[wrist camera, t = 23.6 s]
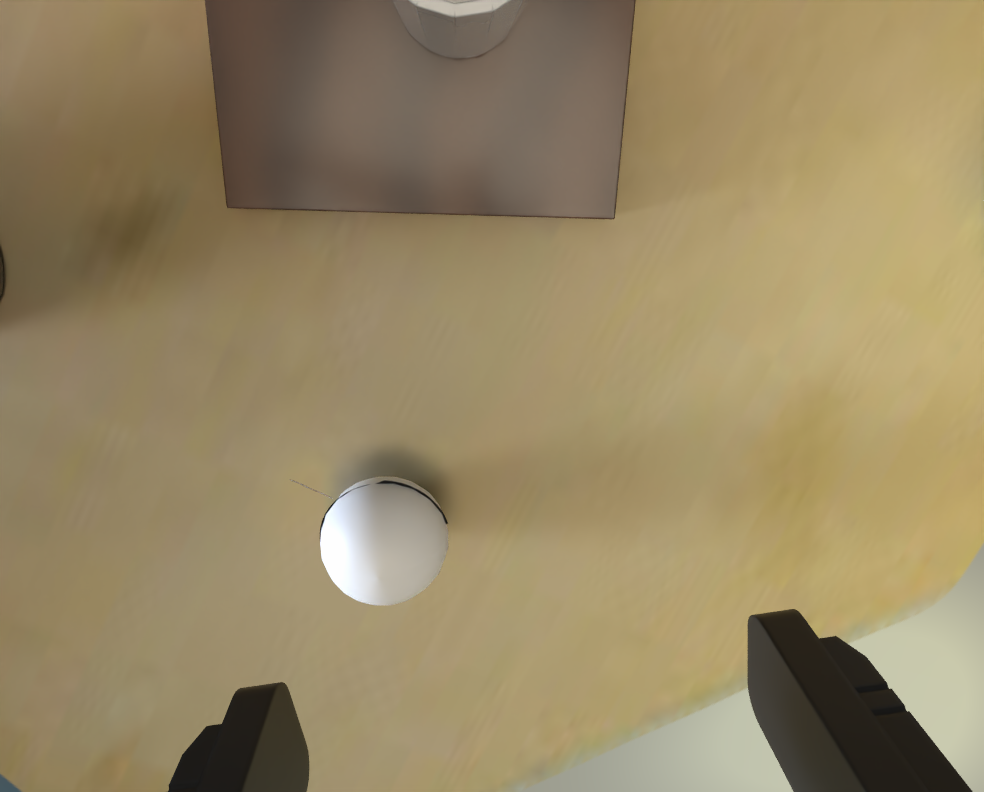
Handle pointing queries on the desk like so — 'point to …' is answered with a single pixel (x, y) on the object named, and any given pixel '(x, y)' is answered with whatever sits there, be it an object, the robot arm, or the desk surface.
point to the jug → (459, 24)
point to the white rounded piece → (383, 540)
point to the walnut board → (419, 110)
